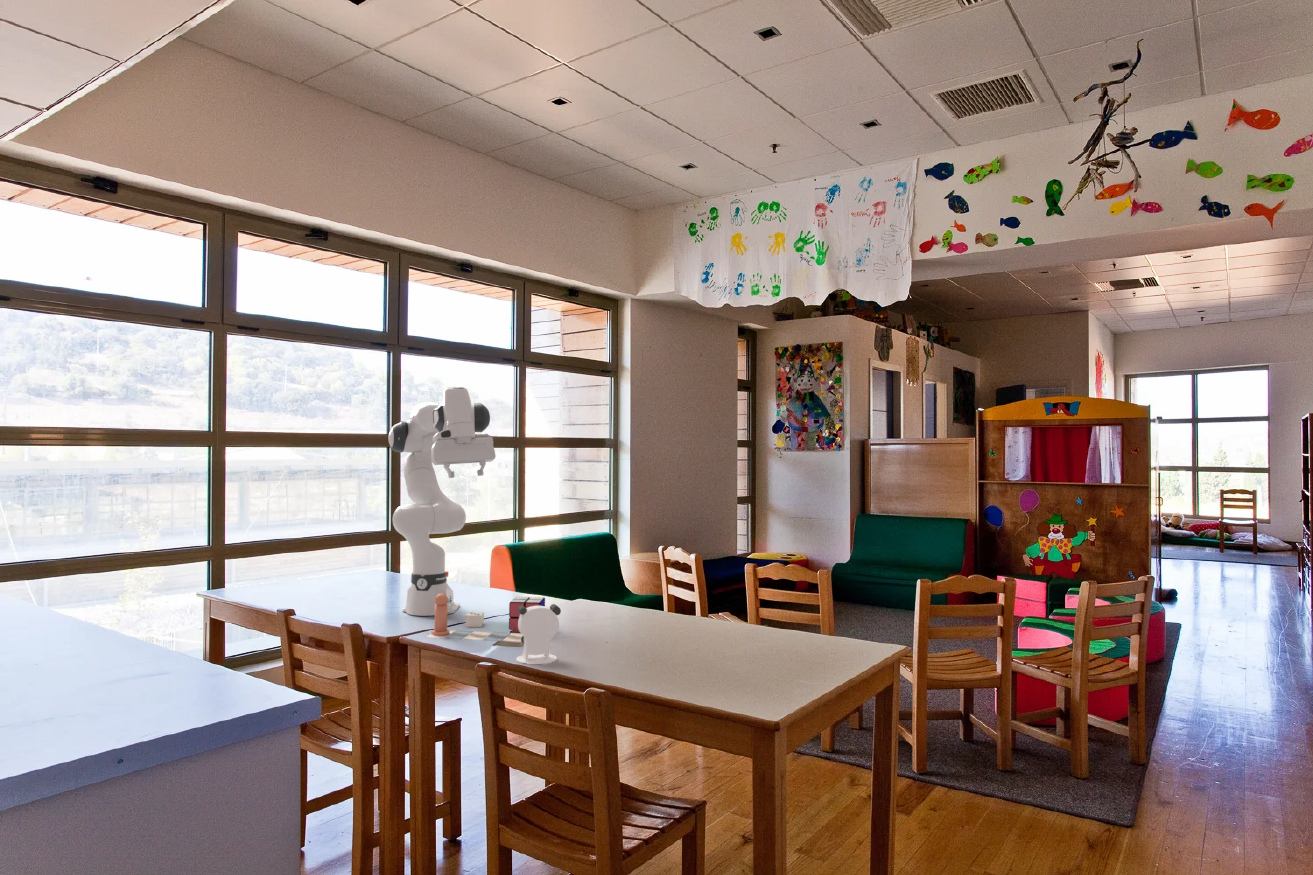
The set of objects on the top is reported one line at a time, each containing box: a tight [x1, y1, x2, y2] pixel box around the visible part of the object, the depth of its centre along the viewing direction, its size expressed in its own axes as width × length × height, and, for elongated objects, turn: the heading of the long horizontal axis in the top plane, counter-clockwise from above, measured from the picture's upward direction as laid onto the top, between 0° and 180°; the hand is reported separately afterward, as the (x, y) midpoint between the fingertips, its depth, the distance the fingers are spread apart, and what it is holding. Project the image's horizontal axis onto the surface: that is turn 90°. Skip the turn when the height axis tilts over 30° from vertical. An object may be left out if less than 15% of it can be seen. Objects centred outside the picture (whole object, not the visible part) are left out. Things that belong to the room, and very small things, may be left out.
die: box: [465, 611, 485, 628], centre depth 263 cm, size 5×5×5 cm
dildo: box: [431, 593, 450, 636], centre depth 250 cm, size 5×5×12 cm
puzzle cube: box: [508, 596, 546, 633], centre depth 263 cm, size 10×10×10 cm
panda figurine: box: [515, 603, 562, 665], centre depth 227 cm, size 12×11×15 cm
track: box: [425, 629, 524, 647], centre depth 248 cm, size 11×30×1 cm, turn 83°
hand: (466, 476), depth 257 cm, fingers open, 8 cm apart
